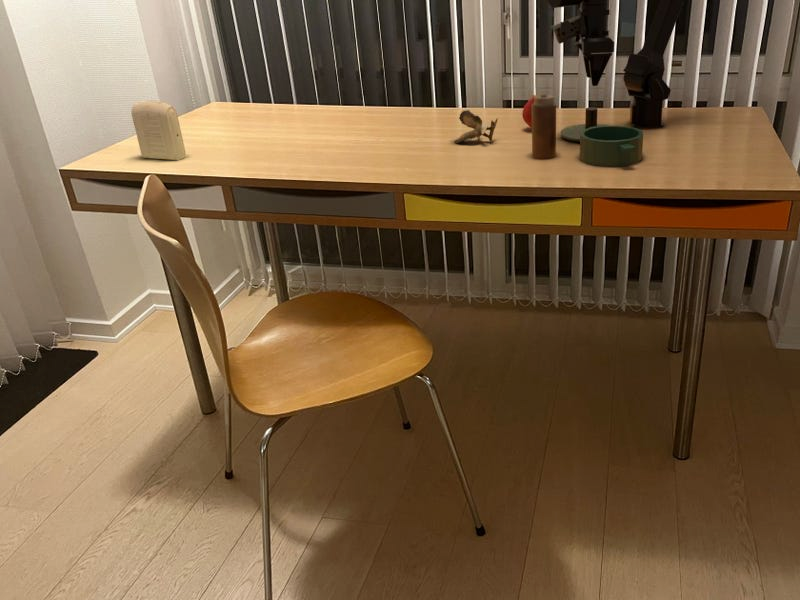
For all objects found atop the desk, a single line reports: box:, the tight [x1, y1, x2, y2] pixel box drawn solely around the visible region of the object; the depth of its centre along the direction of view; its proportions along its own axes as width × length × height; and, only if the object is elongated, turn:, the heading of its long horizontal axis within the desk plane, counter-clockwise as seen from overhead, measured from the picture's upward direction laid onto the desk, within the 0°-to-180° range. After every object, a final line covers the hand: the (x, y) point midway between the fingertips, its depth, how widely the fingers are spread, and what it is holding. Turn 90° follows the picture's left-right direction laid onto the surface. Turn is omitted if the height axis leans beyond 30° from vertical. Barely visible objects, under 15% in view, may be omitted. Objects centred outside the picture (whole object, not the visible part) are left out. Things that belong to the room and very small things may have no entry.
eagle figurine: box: [453, 109, 499, 144], centre depth 179 cm, size 8×7×9 cm
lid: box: [560, 107, 609, 143], centre depth 179 cm, size 14×14×6 cm
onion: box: [521, 94, 536, 129], centre depth 185 cm, size 6×6×8 cm
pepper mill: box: [531, 93, 557, 160], centre depth 166 cm, size 5×5×13 cm
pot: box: [579, 124, 644, 167], centre depth 164 cm, size 13×18×5 cm
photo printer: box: [130, 100, 187, 161], centre depth 177 cm, size 10×4×12 cm, turn 73°
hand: (591, 81), depth 174 cm, fingers open, 9 cm apart
